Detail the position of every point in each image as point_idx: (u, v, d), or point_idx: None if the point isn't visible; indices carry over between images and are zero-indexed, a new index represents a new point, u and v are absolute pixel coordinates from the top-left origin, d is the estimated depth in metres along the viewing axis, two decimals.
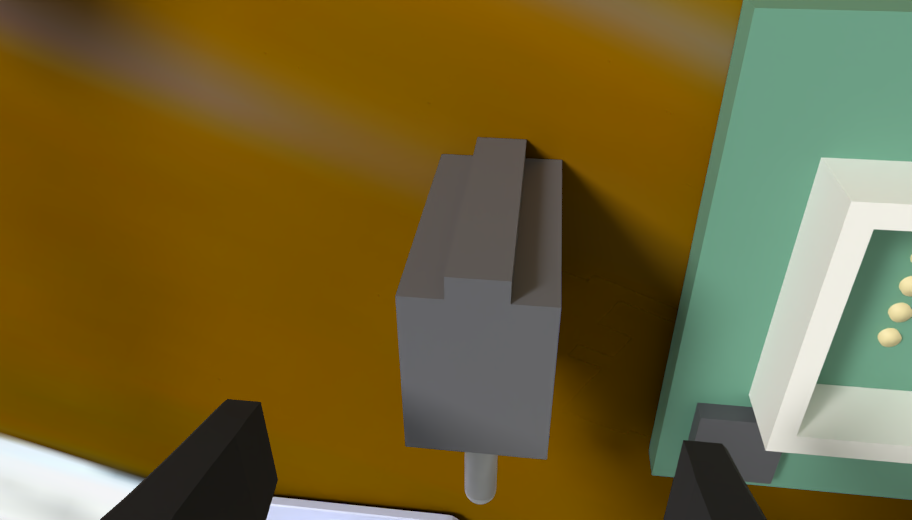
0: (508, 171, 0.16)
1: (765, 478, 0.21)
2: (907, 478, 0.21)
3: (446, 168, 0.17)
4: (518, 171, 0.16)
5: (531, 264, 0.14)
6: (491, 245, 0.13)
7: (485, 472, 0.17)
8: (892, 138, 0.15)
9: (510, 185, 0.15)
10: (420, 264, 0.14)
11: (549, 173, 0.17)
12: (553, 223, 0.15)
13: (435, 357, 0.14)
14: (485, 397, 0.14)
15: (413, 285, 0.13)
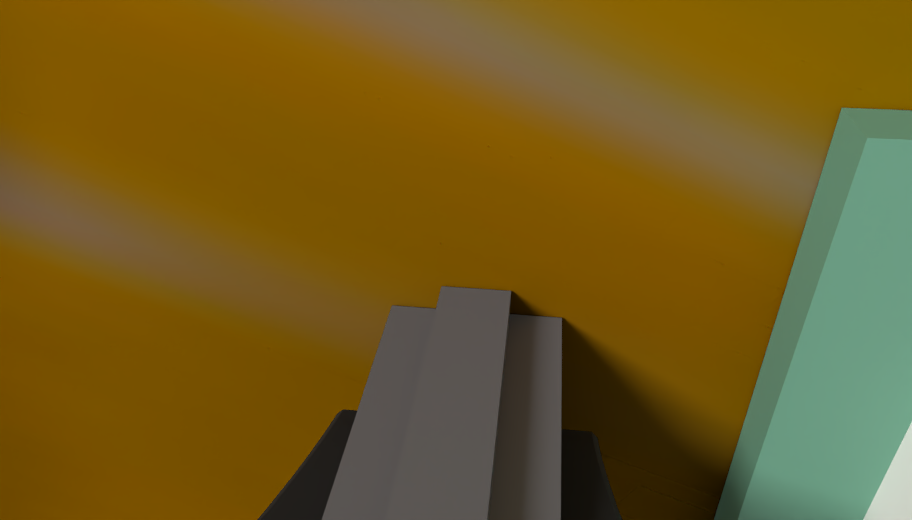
0: (482, 359, 0.11)
1: None
2: None
3: (395, 333, 0.12)
4: (497, 358, 0.11)
5: None
6: None
7: None
8: None
9: (483, 390, 0.10)
10: None
11: (544, 346, 0.12)
12: (548, 454, 0.10)
13: None
14: None
15: None
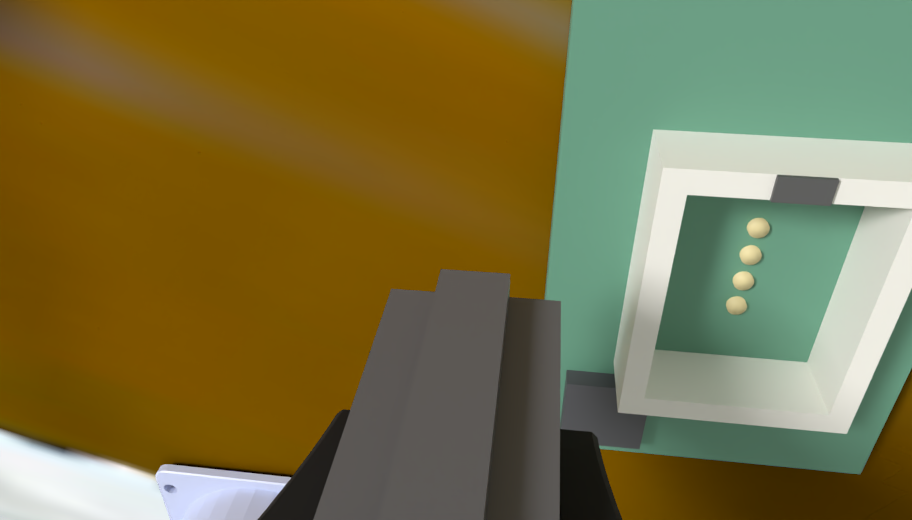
0: (481, 339, 0.11)
1: (634, 443, 0.21)
2: (770, 444, 0.22)
3: (394, 316, 0.12)
4: (496, 338, 0.11)
5: None
6: (445, 511, 0.08)
7: None
8: (716, 111, 0.16)
9: (483, 369, 0.10)
10: None
11: (543, 327, 0.12)
12: (547, 432, 0.10)
13: None
14: None
15: None
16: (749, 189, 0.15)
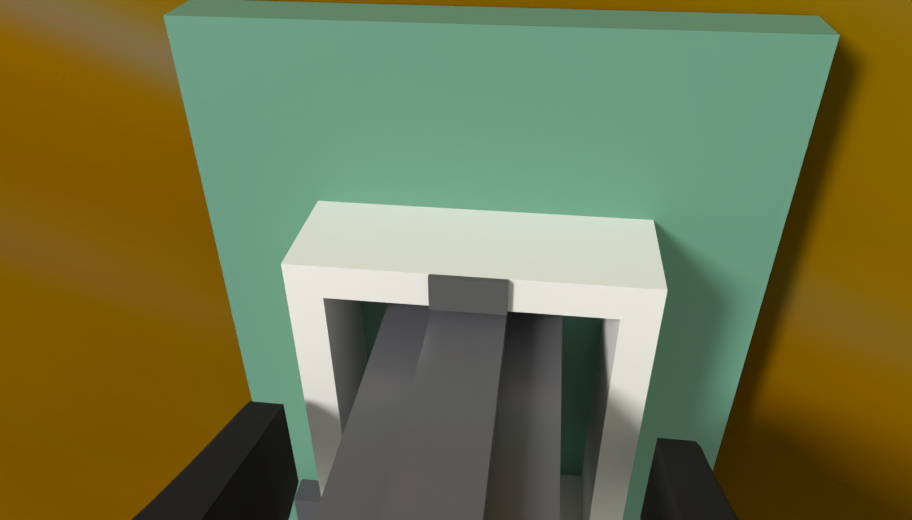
0: (484, 320, 0.11)
1: None
2: None
3: None
4: (499, 320, 0.11)
5: (514, 500, 0.09)
6: (450, 479, 0.09)
7: None
8: (389, 178, 0.12)
9: (486, 348, 0.11)
10: (342, 499, 0.09)
11: None
12: (548, 408, 0.10)
13: None
14: None
15: None
16: (399, 292, 0.11)
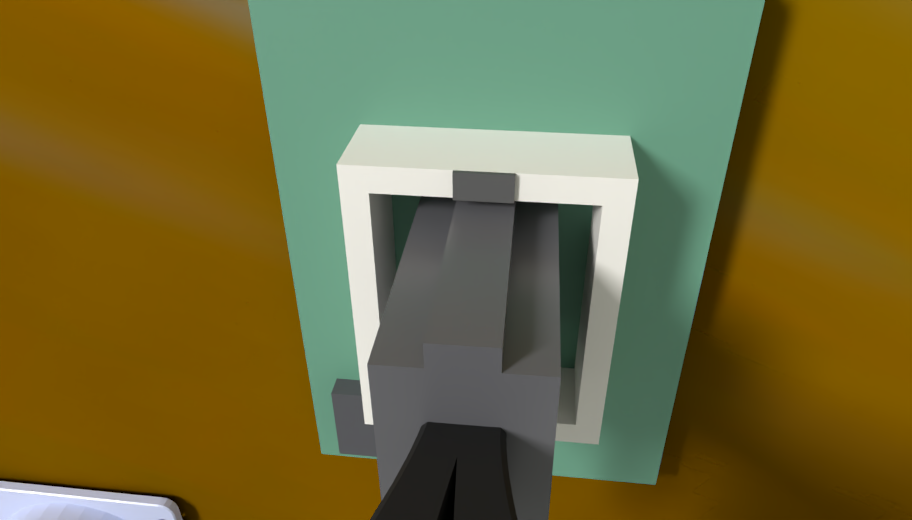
0: (498, 209, 0.14)
1: None
2: (558, 454, 0.21)
3: (428, 203, 0.15)
4: (509, 209, 0.14)
5: (525, 321, 0.12)
6: (478, 301, 0.12)
7: None
8: (418, 104, 0.15)
9: (500, 225, 0.14)
10: (397, 323, 0.12)
11: (544, 209, 0.15)
12: (549, 269, 0.13)
13: (415, 431, 0.12)
14: None
15: (388, 350, 0.11)
16: (429, 186, 0.14)
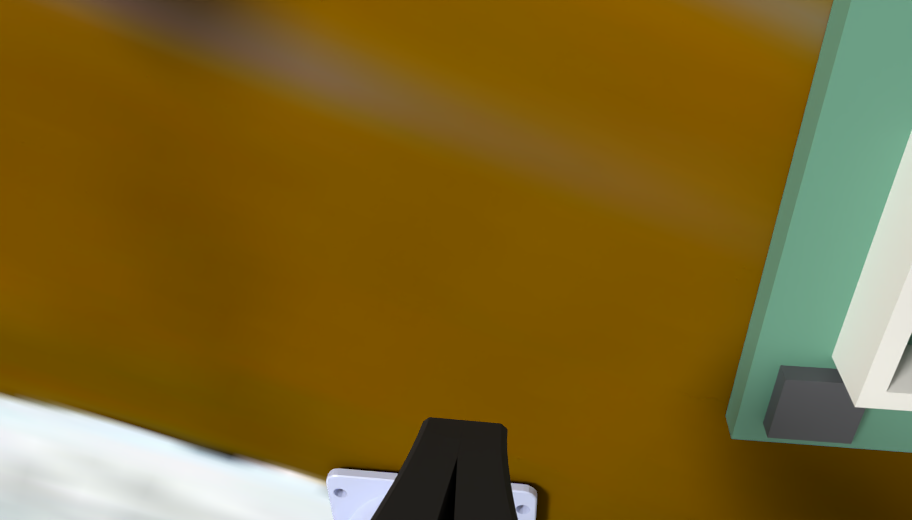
0: None
1: (846, 438, 0.21)
2: None
3: None
4: None
5: None
6: None
7: None
8: None
9: None
10: None
11: None
12: None
13: None
14: None
15: None
16: None
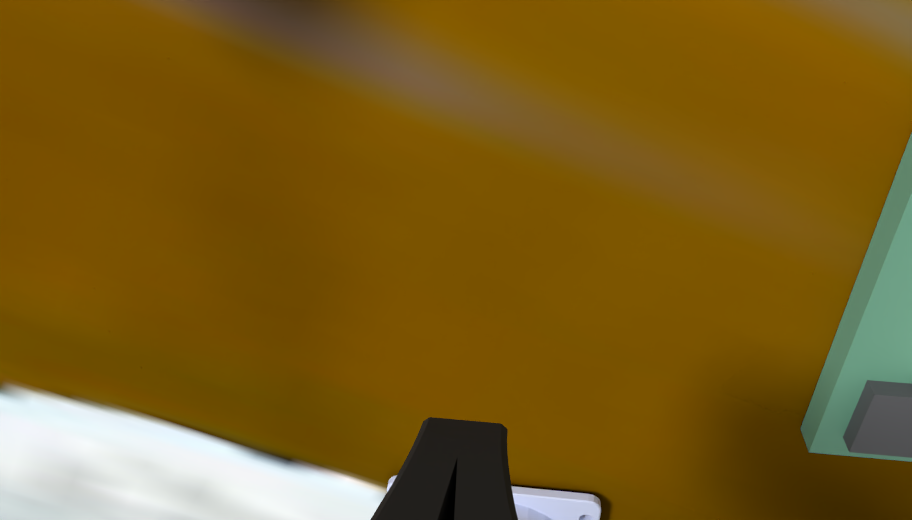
0: None
1: None
2: None
3: None
4: None
5: None
6: None
7: None
8: None
9: None
10: None
11: None
12: None
13: None
14: None
15: None
16: None
